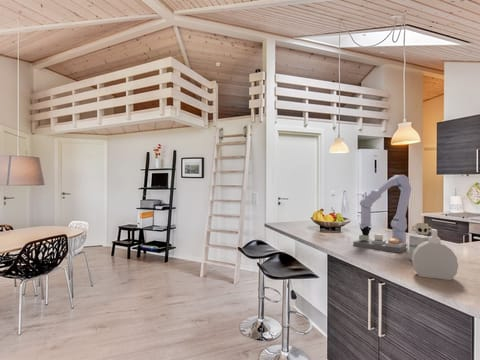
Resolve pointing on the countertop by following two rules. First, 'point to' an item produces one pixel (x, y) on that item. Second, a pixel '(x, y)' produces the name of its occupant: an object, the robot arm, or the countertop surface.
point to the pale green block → (364, 237)
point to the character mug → (421, 228)
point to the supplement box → (415, 242)
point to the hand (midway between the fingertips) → (365, 238)
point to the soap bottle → (434, 259)
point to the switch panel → (380, 245)
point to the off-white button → (378, 237)
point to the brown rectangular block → (395, 241)
